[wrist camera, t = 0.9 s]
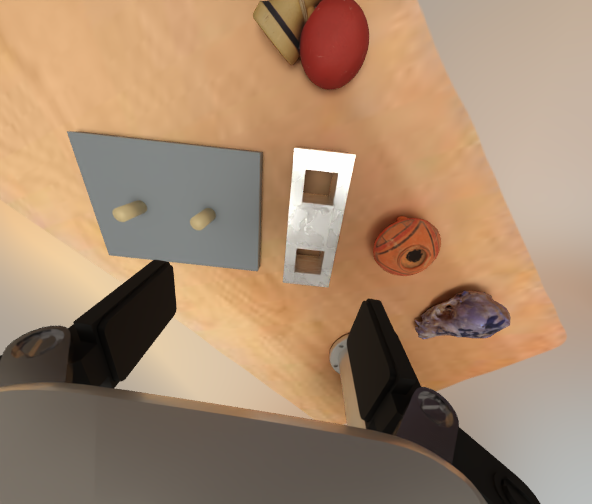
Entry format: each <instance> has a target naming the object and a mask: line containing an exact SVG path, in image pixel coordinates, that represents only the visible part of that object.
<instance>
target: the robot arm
mask: <svg viewBox="0 0 592 504" xmlns="http://www.w3.org/2000/svg"><path fill="white" fill-rule="evenodd" d="M175 313H176V296H175V285H174V273H173V267H172V266H171V265H170V263H169V262H167V261H161V260H153V261H152V262H150V263H149V264H148V265H146V266H145V267H144V268H143V269H141V270H140V271H139V272H137V273H136V274H135V275H134V276H132V277H131V278H130V279H128V280H127V281H126V282H124V283H123V284H122V285H121V286H119V287H118V288H117V289H115V290H114V291H113V292H112V293H110V294H109V295H108V296H106V297H105V298H104V299H103V300H101V301H100V302H99V303H97V304H96V305H95V306H93V307H92V308H91V309H90V310H88V311H87V312H86V313H84V314H83V315H82V316H80V317H79V318H78V319H77V320H75V321H74V324H73V325H72V326H71V327H70V328H66V327H63V326H48V327H42V328H39V329H36V330H33V331H30V332H28V333H26V334H24V335H22V336H20V337H19V338H17V339H16V340H14V341H13V342H12V343H10V344H9V345H8V346H7V348H6V349H5V351H4V352H3V355H1V356H0V504H540V503H539V501H538V499H537V498H536V496H535V495H534V494H533V492H532V491H531V490H530V489H529V488H528V486H527V485H526V484H525V483H524V482H522V480H520V479H519V478H518V477H517V476H516V475H515V474H514V473H513V472H511V471H510V470H509V469H508V468H507V467H506V466H504V465H503V464H502V463H501V462H500V461H498V460H497V459H496V458H495V457H494V456H493V455H491V454H490V453H489V452H488V451H487V450H485V449H484V448H483V447H482V446H481V445H479V444H478V443H477V442H476V441H475V440H474V439H472V438H471V437H470V436H469V435H468V434H467V433H465V432H464V431H463V430H462V429H461V428H459V421H458V417H457V415H456V412H455V411H454V409H453V407H452V406H451V405H450V403H449V402H448V401H447V400H446V399H445V398H444V397H443V396H441V395H440V394H439V393H437V392H436V391H434V390H432V389H429V388H426V387H421V386H420V383H419V381H418V379H417V377H416V375H415V372H414V370H413V368H412V366H411V364H410V362H409V359H408V357H407V355H406V353H405V351H404V349H403V346H402V344H401V342H400V340H399V338H398V335H397V334H396V332H395V331H394V329H393V327H392V325H391V323H390V320H389V318H388V316H387V314H386V312H385V309H384V307H383V305H382V303H381V301H379V300H373V299H367V300H366V301H363V302H362V305H361V307H360V309H359V312H358V314H357V316H356V319H355V321H354V324H353V326H352V328H351V331H350V333H349V334H347V335H345V336H343V337H341V338H340V339H338V340H337V341H336V342H335V343H334V344H333V346H332V347H331V350H330V354H329V357H330V363H331V366H332V367H333V369H334V370H335V371H336V372H337V373H339V374H340V377H341V384H342V392H343V399H344V406H345V413H346V420H347V425H341V424H336V423H330V422H324V421H318V420H312V419H305V418H300V417H294V416H287V415H281V414H276V413H269V412H262V411H257V410H251V409H244V408H238V407H232V406H225V405H219V404H213V403H206V402H200V401H193V400H187V399H180V398H174V397H167V396H161V395H155V394H148V393H142V392H135V391H128V390H121V389H114V387H116V385H117V384H118V383H119V381H123V380H125V379H126V377H127V376H128V375H129V373H130V372H131V371H132V370H133V368H134V367H135V366H136V365H137V363H138V362H139V361H140V359H141V358H142V357H143V355H144V354H145V352H146V351H147V350H148V349H149V347H150V346H151V345H152V344H153V342H154V341H155V340H156V338H157V337H158V336H159V334H160V333H161V332H162V330H163V329H164V328H165V326H166V325H167V324H168V323H169V321H170V320H171V319H172V318H173V316H174V315H175Z"/></svg>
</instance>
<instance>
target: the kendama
mask: <svg viewBox="0 0 592 504" xmlns="http://www.w3.org/2000/svg"><path fill="white" fill-rule="evenodd" d="M253 17H254V19H255V21H256V22H257V23H258V25H259V26H260V27H261V29H262V30H263V31H264V33H265V34H266V35H267V37H268V38H269V39H270V40H271V42H272V43H273V44H274V46H275V47H276V48H277V49H278V50H279V52H280V53H281V54H282V56H283V57H284V58H285V59H286V60H287V62H288V63H289V64H290V65H293V64H294V63H295V62H296V61H297V59H298V58H299V57H301V62H302V66H303V69H304V71H305V73H306V75H307V76H308V78H309V79H310V80H311V81H312V82H313V83H314V84H315V85H317V86H319V87H321V88H324V89H337V88H340V87H342V86H344V85H345V84H347V83H348V82H349V81H351V80H352V79H353V78H354V76H356V74H357V73H358V71H359V70H360V68H361V66H362V64H363V62H364V60H365V57H366V54H367V50H368V45H369V29H368V24H367V20H366V17H365V15H364V13H363V11H362V9H361V7H360V6H359V5H358V4H357V3H356V2H355V1H354V0H270V1H260V2H259V4H258V6H257V7H256V9H255V11H254V13H253Z"/></svg>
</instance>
